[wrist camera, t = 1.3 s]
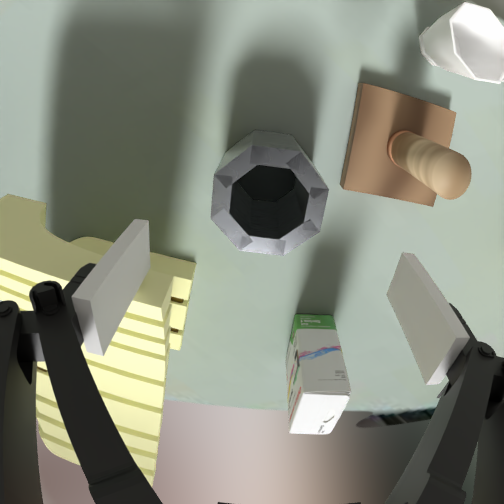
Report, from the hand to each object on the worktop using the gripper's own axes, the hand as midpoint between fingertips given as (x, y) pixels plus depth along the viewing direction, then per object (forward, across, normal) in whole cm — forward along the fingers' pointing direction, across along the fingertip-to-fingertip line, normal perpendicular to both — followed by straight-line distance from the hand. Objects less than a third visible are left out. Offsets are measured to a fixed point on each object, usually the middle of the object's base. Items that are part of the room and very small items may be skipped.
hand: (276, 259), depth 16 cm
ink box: (+16, +8, -20) cm, 27 cm away
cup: (+16, +16, +16) cm, 28 cm away
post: (+16, +12, +5) cm, 20 cm away
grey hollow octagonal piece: (+16, 0, 0) cm, 16 cm away
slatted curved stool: (+16, -15, -16) cm, 27 cm away
